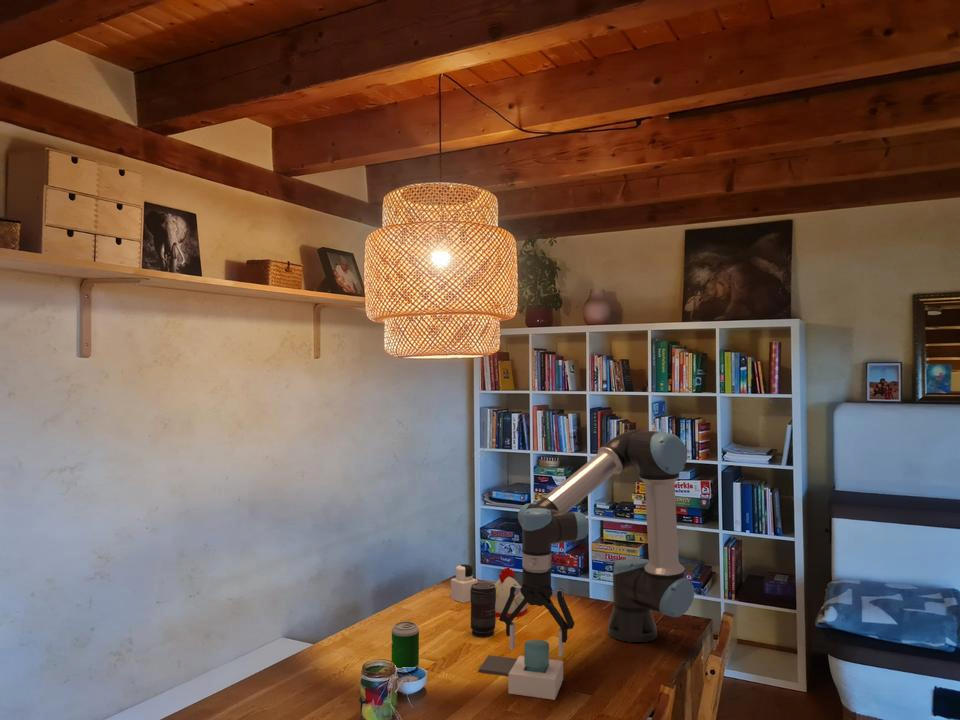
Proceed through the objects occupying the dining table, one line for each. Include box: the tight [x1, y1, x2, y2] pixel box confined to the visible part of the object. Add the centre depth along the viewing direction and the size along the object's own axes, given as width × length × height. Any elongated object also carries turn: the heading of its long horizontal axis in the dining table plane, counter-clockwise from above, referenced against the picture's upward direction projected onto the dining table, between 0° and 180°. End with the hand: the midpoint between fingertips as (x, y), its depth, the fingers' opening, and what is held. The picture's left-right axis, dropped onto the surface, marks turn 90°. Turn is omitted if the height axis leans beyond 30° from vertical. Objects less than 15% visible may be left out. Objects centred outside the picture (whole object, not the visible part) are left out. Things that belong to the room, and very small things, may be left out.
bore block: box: [507, 655, 564, 701], centre depth 184 cm, size 12×12×5 cm
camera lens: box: [469, 581, 497, 638], centre depth 222 cm, size 8×8×15 cm
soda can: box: [391, 621, 420, 668], centre depth 195 cm, size 8×8×12 cm
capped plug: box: [523, 639, 550, 673], centre depth 184 cm, size 6×6×11 cm
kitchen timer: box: [493, 566, 528, 618], centre depth 242 cm, size 14×14×15 cm
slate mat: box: [478, 654, 518, 677], centre depth 196 cm, size 10×10×1 cm
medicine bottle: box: [450, 564, 479, 604], centre depth 255 cm, size 7×7×12 cm
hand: (536, 651), depth 184 cm, fingers open, 12 cm apart
